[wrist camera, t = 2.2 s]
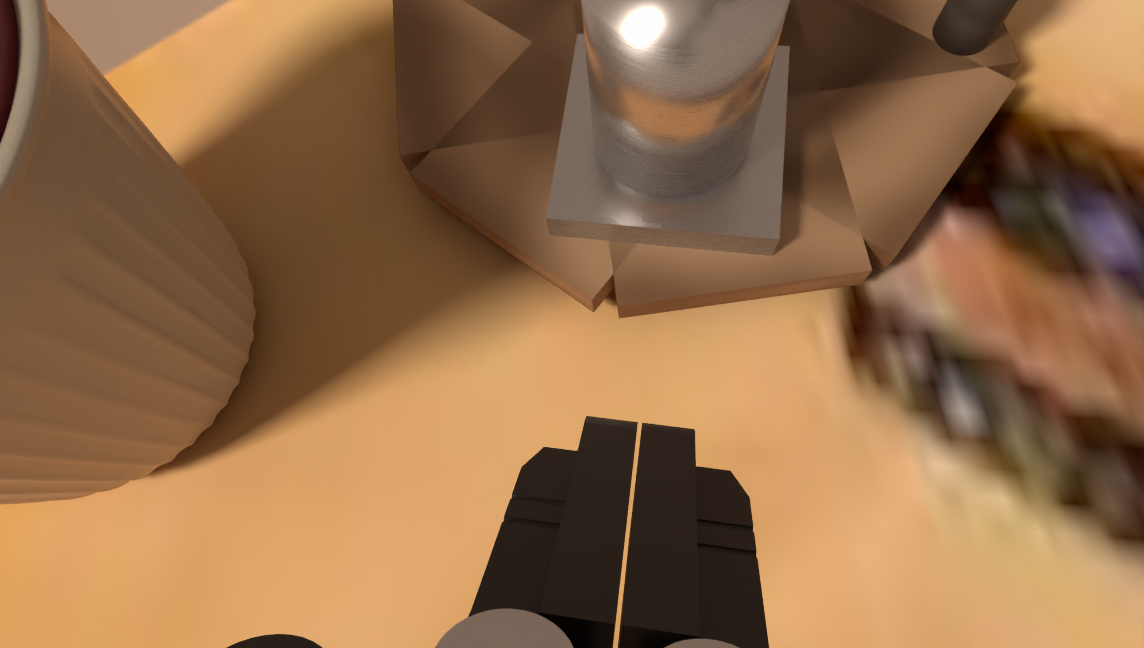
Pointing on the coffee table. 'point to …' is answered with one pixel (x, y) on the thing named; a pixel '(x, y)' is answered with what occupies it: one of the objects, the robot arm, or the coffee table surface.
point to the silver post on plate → (675, 126)
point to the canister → (101, 280)
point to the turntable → (811, 153)
